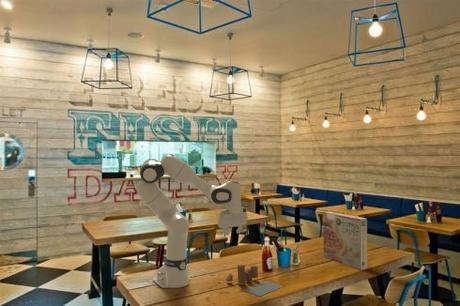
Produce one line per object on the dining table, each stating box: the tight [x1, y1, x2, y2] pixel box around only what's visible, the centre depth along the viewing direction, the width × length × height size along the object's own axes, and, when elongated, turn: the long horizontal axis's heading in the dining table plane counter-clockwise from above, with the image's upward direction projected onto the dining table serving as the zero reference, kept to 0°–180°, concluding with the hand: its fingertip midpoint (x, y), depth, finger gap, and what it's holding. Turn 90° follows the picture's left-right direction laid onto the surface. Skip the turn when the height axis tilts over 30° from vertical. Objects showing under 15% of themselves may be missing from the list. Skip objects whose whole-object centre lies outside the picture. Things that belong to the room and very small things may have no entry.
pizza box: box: [323, 211, 368, 271], centre depth 233 cm, size 32×5×32 cm, turn 28°
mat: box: [241, 280, 284, 297], centre depth 191 cm, size 12×20×1 cm, turn 135°
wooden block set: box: [225, 263, 259, 286], centre depth 200 cm, size 18×9×10 cm, turn 114°
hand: (232, 234), depth 204 cm, fingers open, 8 cm apart
